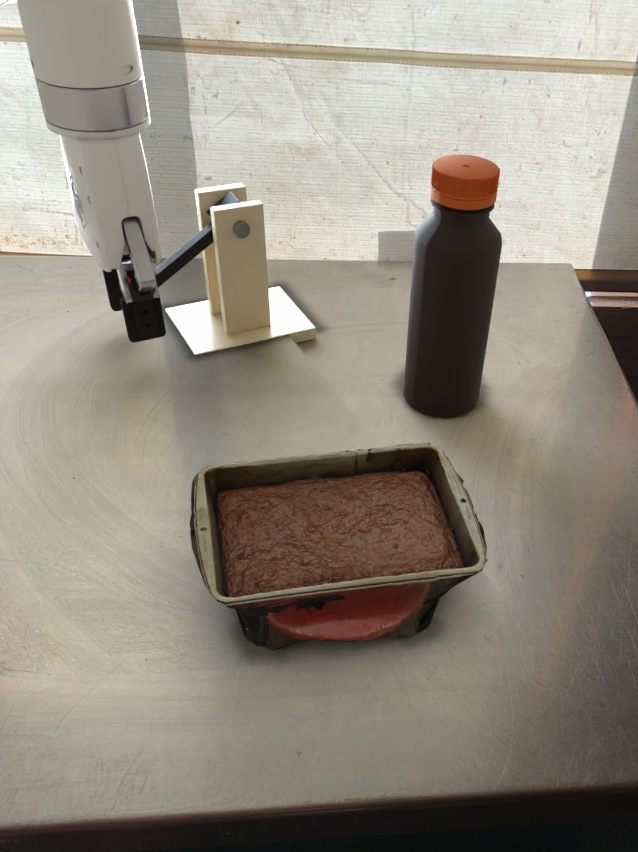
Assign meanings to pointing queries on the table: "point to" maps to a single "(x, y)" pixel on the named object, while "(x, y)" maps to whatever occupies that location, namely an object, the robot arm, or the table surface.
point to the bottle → (452, 288)
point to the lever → (188, 248)
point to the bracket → (236, 281)
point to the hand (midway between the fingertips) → (137, 320)
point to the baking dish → (335, 542)
